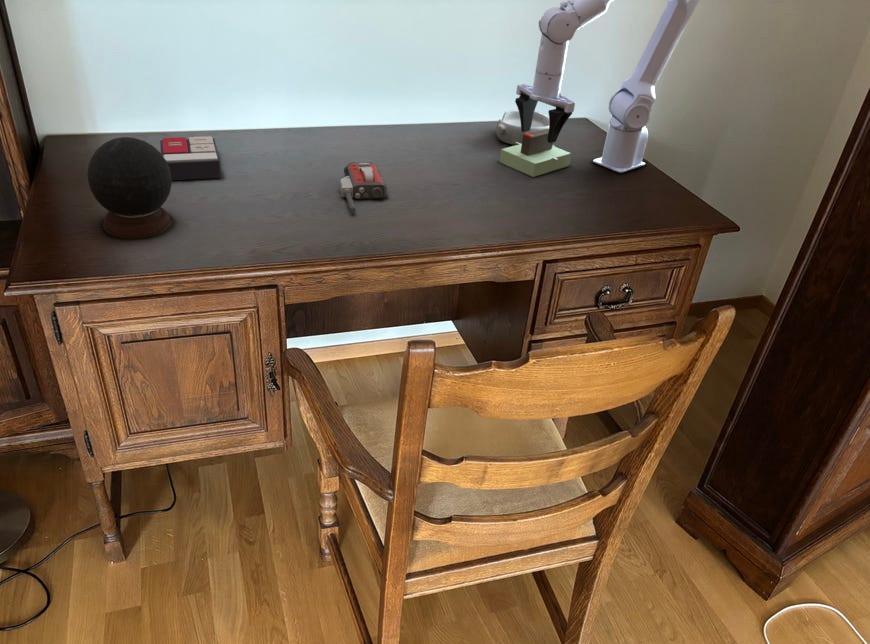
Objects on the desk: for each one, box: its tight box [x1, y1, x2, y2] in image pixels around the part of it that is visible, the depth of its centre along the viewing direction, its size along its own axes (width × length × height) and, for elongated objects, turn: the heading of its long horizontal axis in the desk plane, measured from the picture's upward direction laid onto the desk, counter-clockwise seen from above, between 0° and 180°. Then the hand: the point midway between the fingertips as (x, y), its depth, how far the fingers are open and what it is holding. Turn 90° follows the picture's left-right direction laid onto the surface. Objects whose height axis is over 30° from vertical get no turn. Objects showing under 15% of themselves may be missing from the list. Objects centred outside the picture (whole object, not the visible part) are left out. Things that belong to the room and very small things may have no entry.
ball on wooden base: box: [87, 136, 173, 240], centre depth 125 cm, size 13×13×15 cm
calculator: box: [159, 135, 223, 181], centre depth 151 cm, size 11×4×15 cm
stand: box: [499, 142, 572, 178], centre depth 165 cm, size 12×12×3 cm
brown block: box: [521, 129, 554, 156], centre depth 163 cm, size 8×2×4 cm, turn 131°
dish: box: [495, 109, 549, 146], centre depth 178 cm, size 14×14×5 cm
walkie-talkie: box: [339, 161, 387, 212], centre depth 145 cm, size 9×4×20 cm
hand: (538, 136), depth 162 cm, fingers open, 7 cm apart
